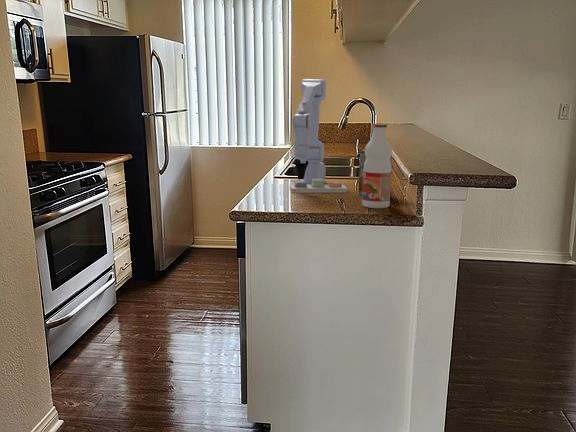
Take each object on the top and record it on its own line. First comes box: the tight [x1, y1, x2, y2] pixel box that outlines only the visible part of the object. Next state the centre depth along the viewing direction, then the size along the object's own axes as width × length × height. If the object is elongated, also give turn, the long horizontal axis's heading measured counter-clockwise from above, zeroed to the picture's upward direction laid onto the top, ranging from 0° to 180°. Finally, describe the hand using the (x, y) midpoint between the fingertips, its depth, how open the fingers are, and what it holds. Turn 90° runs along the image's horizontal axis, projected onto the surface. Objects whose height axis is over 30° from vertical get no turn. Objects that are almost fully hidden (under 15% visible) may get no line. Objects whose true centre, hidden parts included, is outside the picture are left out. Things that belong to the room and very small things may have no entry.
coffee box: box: [358, 151, 366, 196], centre depth 198 cm, size 9×6×16 cm
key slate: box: [294, 181, 308, 188], centre depth 207 cm, size 4×4×2 cm
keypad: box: [289, 183, 348, 194], centre depth 208 cm, size 22×10×2 cm, turn 95°
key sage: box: [312, 179, 325, 186], centre depth 207 cm, size 4×4×2 cm
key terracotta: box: [328, 181, 343, 187], centre depth 208 cm, size 4×4×2 cm
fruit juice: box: [361, 123, 393, 209], centre depth 175 cm, size 9×9×28 cm
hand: (300, 179), depth 206 cm, fingers closed
